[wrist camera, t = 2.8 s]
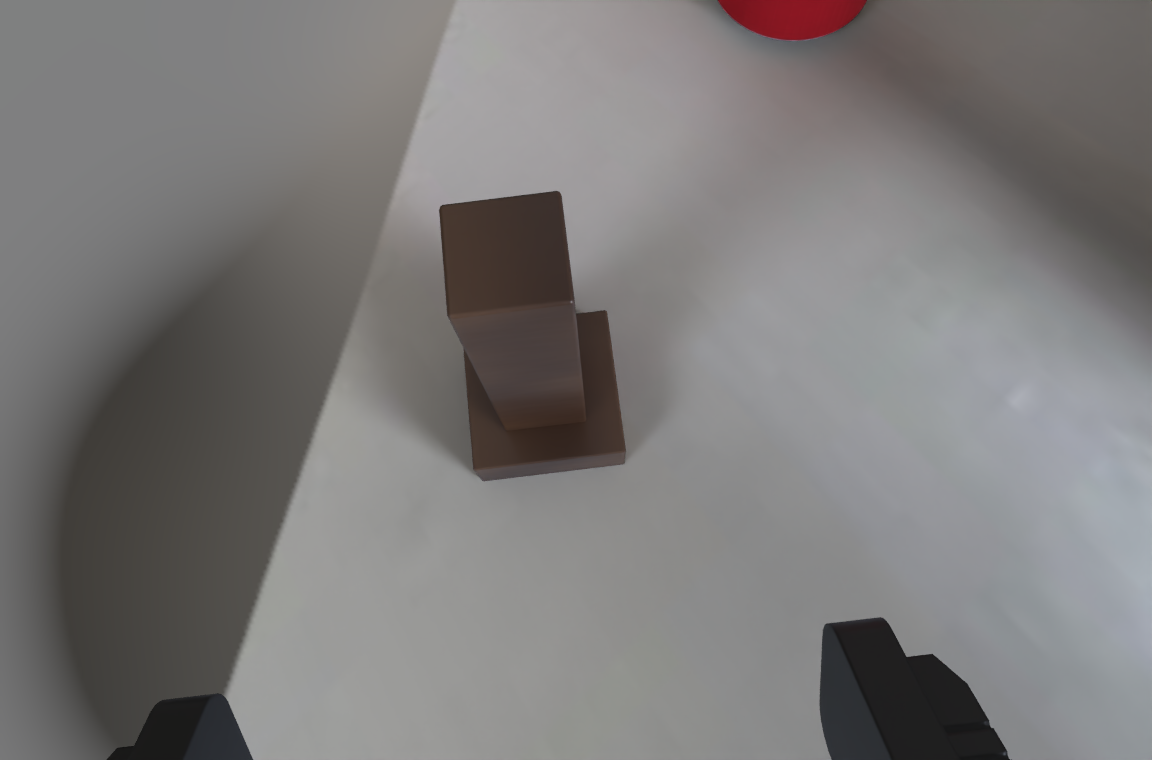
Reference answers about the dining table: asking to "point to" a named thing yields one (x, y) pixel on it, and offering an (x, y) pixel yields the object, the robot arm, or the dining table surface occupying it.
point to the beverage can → (792, 16)
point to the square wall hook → (527, 341)
